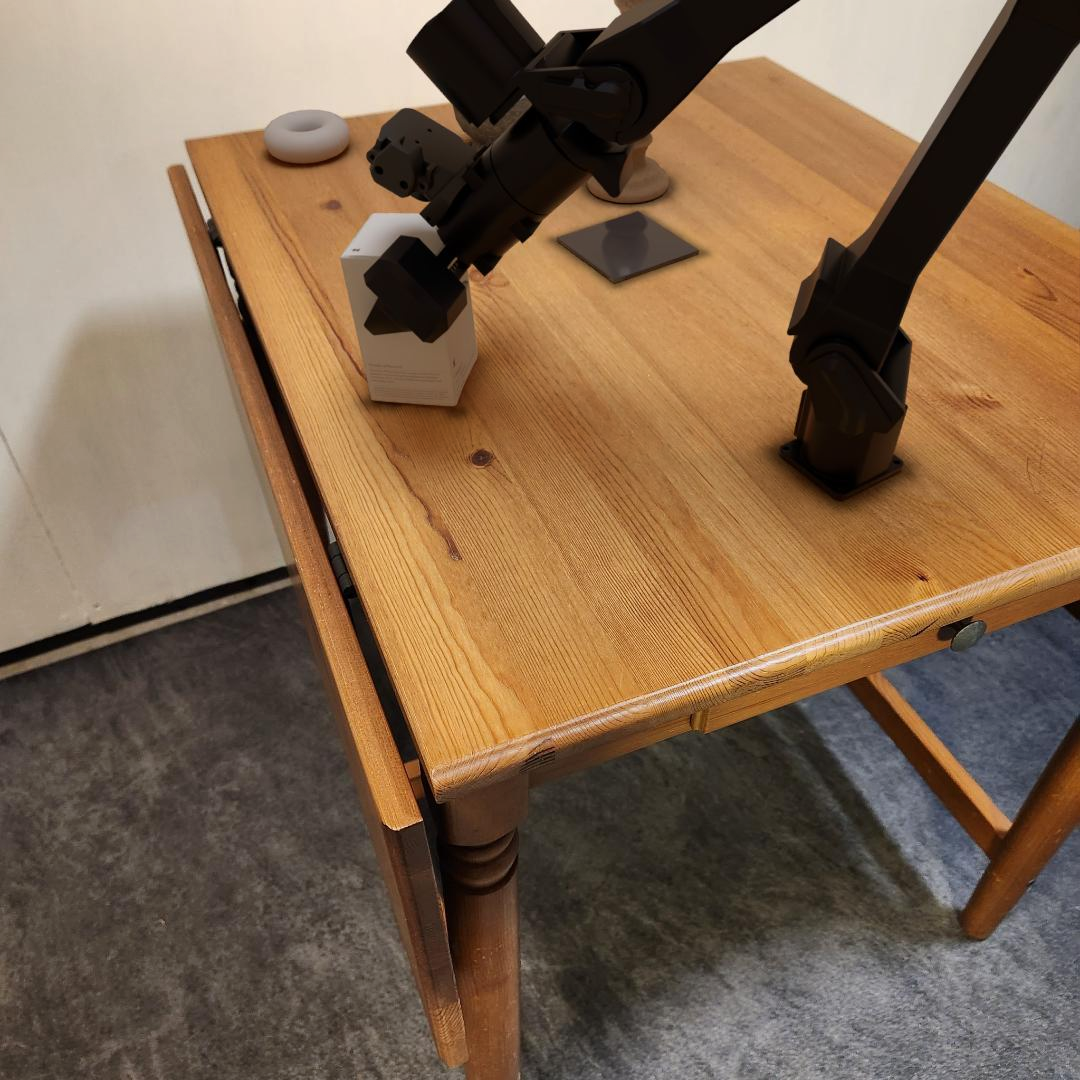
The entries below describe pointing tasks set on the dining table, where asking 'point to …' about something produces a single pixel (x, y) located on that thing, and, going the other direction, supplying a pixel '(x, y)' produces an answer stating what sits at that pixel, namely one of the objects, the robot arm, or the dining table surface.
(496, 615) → the dining table surface
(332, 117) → the donut
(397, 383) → the white packaging box
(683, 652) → the dining table surface
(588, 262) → the slate coaster
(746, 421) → the dining table surface
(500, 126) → the mortar and pestle
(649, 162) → the candle holder
